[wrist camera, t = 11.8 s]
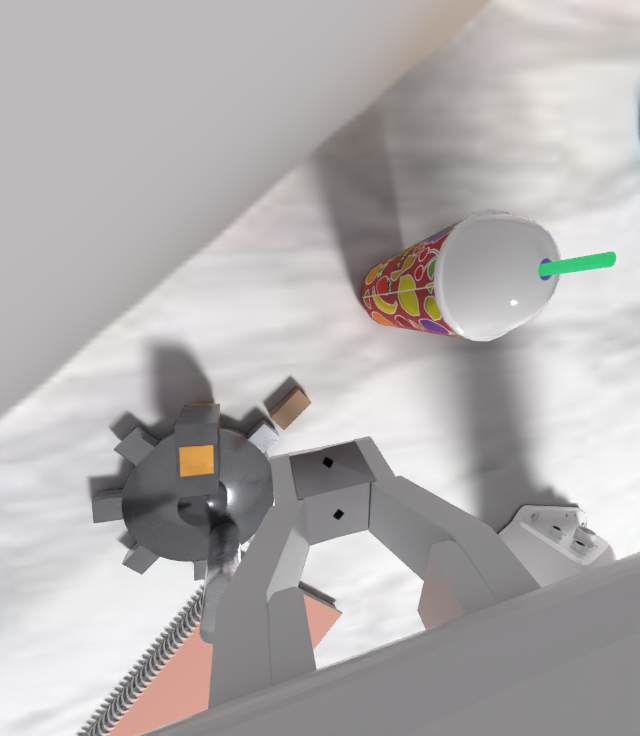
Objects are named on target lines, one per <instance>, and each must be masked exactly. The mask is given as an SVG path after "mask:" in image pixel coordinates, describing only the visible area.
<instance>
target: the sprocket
mask: <svg viewBox="0 0 640 736" xmlns="http://www.w3.org/2000/svg"><path fill="white" fill-rule="evenodd" d="M205 404H216V403H205ZM205 404H191V405H205ZM278 438H279V435H278V432H277V431H276V430H275V429H274V428H272V427H271V426H270V425H269V424H268V423H267V422H266V421H265V420H264V419H262V420H261V421H260V422H259V423H258V424H257V425H256V426H255V427H254V428H253V429H252V430H251V431H250V432H249V433H248V434H245V433H243V432H241V431H238V430H236V429H233V428H230V427H225V426H220V456H221V464H220V475H219V487H218V493H213V494H205V495H198V496H190V497H182V498H177V483H176V459H175V435H174V432H173V433H171V434H169V435H167V436H165V437H164V438H162V439H161V440H159V441H158V440H156V439H155V438H154V437H152V436H151V435H150V434H148V433H147V432H146V431H144V430H143V429H141V428H140V427H139V426H137V427H136V428H135V429H134V430H133V431H132V432H131V433H130V434H129V435H128V436H127V437H125V438H124V439H123V440H122V441H121V442H120V443H119V444H118V445H117V446H116V447H115V449H114V451H116V452H117V453H119V454H120V455H122V456H123V457H125V458H126V459H128V460H129V461H131V462H132V463H134V464H135V467H134V468H133V470H132V471H131V473H130V475H129V477H128V479H127V481H126V483H125V486H124V489H118V490H109V491H100V492H98V493H97V495H96V496H95V497H94V499H93V500H92V510H93V521H94V523H99V522H107V521H114V520H121V519H124V522H125V525H126V527H127V529H128V531H129V532H130V534H131V535H132V537H133V538H134V539H135V540H136V541H137V543H136V544H135V545H134V546H133V547H132V548H131V549H130V550H129V551H128V552H127V554H126V556H125V559H124V561H123V563H122V564H123V565H125V566H127V567H129V568H131V569H132V570H134V571H136V572H138V573H140V574H143V573H144V572H145V571H146V570H147V569H148V568H149V567H150V566H151V565H152V564H153V563H154V562H155V561H156V560H157V559H158V558H159V557H163V558H166V559H171V560H176V561H194V581H196V580H201V579H205V584H204V593H203V603H202V612H201V621H200V631H199V633H200V637H201V639H202V640H203V641H204V642H206V643H208V644H213V640H214V627H215V614H216V606H217V605H218V603H219V601H220V599H221V597H222V595H223V593H224V592H225V590H226V588H227V586H228V584H229V582H230V580H231V579H232V577H233V575H234V573H235V571H236V569H237V567H238V566H239V564H240V562H241V545H242V544H243V543H245V542H246V541H248V542H249V543H251V541H252V539H253V538H254V536H255V534H256V532H257V530H258V528H259V526H260V525H261V523H262V521H263V519H264V517H265V515H266V513H267V512H268V510H269V508H270V507H272V505H273V502H274V498H275V497H274V488H273V480H272V471H271V463H270V460H269V458H268V456H267V454H266V452H265V451H266V450H267V449H268V448H269V447H270V446H271V445H272V444H273V443H274V442H275V441H276V440H277V439H278Z"/></svg>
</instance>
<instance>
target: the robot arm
mask: <svg viewBox="0 0 640 736" xmlns="http://www.w3.org/2000/svg"><path fill="white" fill-rule="evenodd" d="M270 462H271V471H272V480H273V488H274V497H275V506H273V507H270V508H269V510H268V512H267V513H266V515H265V517H264V519H263V521H262V523H261V525H260V526H259V528H258V530H257V532H256V534H255V536H254V538H253V539H252V541H251V543H250V545H249V547H248V549H247V551H246V553H245V554H244V556H243V558H242V560H241V562H240V564H239V566H238V567H237V569H236V571H235V573H234V575H233V577H232V579H231V580H230V582H229V584H228V586H227V588H226V590H225V592H224V593H223V595H222V597H221V599H220V601H219V603H218V605H217V606H216V614H215V627H214V640H213V652H212V665H211V677H210V690H209V703H208V709H207V710H204V711H202V712H199V713H196V714H194V715H191V716H188V717H185V718H183V719H180V720H177V721H174V722H172V723H169V724H166V725H163V726H161V727H158V728H155V729H152V730H150V731H147V732H144V733H141V734H139V735H136V736H640V552H638V553H635V554H632V555H629V556H627V557H624V558H621V559H618V560H616V557H615V553H614V551H613V549H612V547H611V546H610V545H609V544H608V543H607V542H606V541H605V540H603V539H602V538H601V537H599V536H598V535H596V533H595V532H593V531H592V530H590V529H588V528H587V518H586V514H585V512H584V511H583V510H581V509H580V508H577V507H557V506H533V505H525V506H523V507H521V508H520V509H519V511H518V512H517V514H516V515H515V517H514V518H513V520H512V521H511V523H510V524H509V525H507V526H506V527H505V528H504V529H503V530H502V531H501V532H500V533H499V534H497V533H496V532H495V531H494V530H493V528H492V527H491V526H490V525H488V524H486V523H484V522H483V521H481V520H479V519H477V518H475V517H474V516H472V515H470V514H468V513H467V512H465V511H463V510H461V509H459V508H458V507H456V506H454V505H452V504H450V503H449V502H447V501H445V500H443V499H442V498H440V497H438V496H436V495H434V494H433V493H431V492H429V491H427V490H426V489H424V488H422V487H420V486H418V485H417V484H415V483H413V482H411V481H409V480H408V479H406V478H404V477H402V476H397V477H396V476H395V475H394V473H393V471H392V470H391V468H390V467H389V465H388V463H387V462H386V460H385V459H384V457H383V455H382V454H381V452H380V451H379V449H378V448H377V446H376V444H375V443H374V441H373V440H372V438H371V437H369V436H368V437H363V438H359V439H354V440H351V441H346V442H341V443H337V444H332V445H328V446H323V447H319V448H313V449H308V450H302V451H297V452H291V453H288V454H283V455H277V456H272V457H271V459H270ZM364 530H369V532H370V533H372V534H373V535H374V536H375V537H376V538H377V539H378V540H379V541H380V542H381V543H383V544H384V545H385V546H386V547H387V548H388V549H389V550H390V551H391V552H393V553H394V554H395V555H396V556H397V557H398V558H399V559H400V560H401V561H402V562H404V563H405V564H406V565H407V566H408V567H409V568H410V569H411V570H412V571H413V572H415V573H416V574H417V575H418V576H419V577H420V578H421V579H422V580H423V581H424V584H423V588H422V592H421V597H420V601H419V606H418V613H419V615H420V617H421V619H422V622H423V624H424V626H425V628H426V630H424V631H421V632H418V633H416V634H413V635H410V636H407V637H405V638H402V639H399V640H396V641H394V642H391V643H388V644H385V645H383V646H380V647H377V648H374V649H372V650H369V651H366V652H363V653H361V654H358V655H355V656H352V657H350V658H347V659H344V660H341V661H339V662H336V663H333V664H331V665H328V666H325V667H322V668H320V669H317V670H316V665H315V659H314V653H313V647H312V641H311V636H310V630H309V624H308V618H307V613H306V607H305V601H304V595H303V591H302V590H300V589H298V585H299V582H300V578H301V575H302V572H303V568H304V565H305V561H306V558H307V555H308V551H309V546H310V545H314V544H317V543H320V542H323V541H327V540H330V539H333V538H336V537H340V536H344V535H348V534H352V533H356V532H360V531H364Z"/></svg>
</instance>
